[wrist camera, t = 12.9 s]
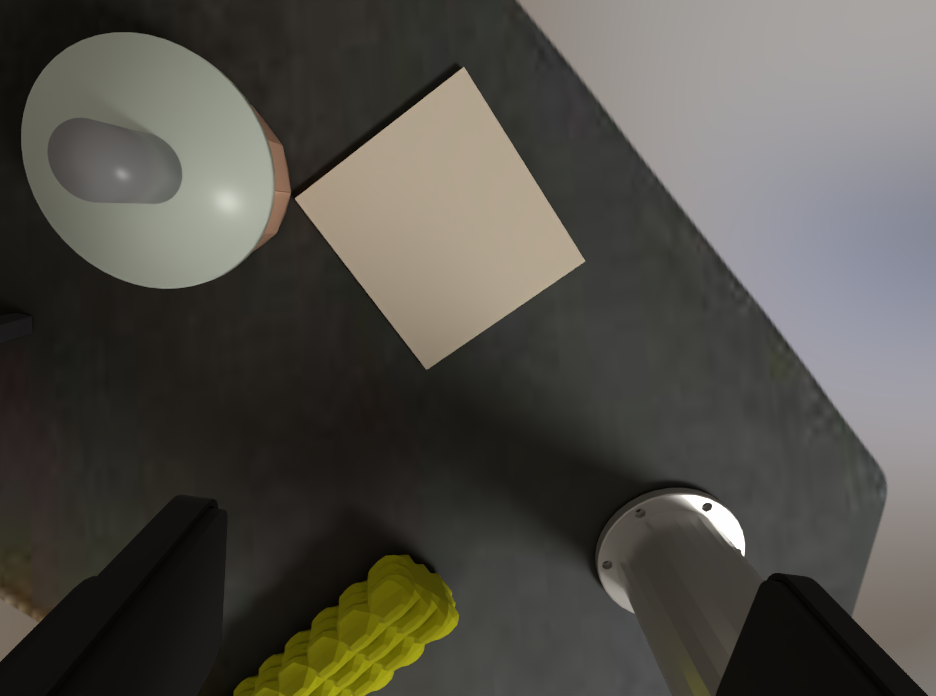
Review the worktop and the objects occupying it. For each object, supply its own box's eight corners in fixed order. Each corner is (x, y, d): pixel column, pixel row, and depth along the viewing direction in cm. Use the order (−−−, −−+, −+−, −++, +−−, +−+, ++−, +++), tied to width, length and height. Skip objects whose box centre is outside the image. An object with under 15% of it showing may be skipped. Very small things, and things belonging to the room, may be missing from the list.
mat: (583, 260, 35) (585, 261, 34) (426, 367, 37) (426, 369, 36) (463, 69, 31) (463, 66, 31) (297, 198, 33) (294, 198, 33)
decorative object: (466, 571, 42) (468, 640, 35) (228, 770, 48) (191, 862, 41) (405, 521, 41) (395, 584, 34) (167, 734, 47) (119, 823, 40)
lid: (323, 200, 28) (294, 197, 23) (156, 328, 29) (95, 352, 24) (157, -20, 24) (81, -79, 19) (-19, 138, 26) (-130, 121, 21)
